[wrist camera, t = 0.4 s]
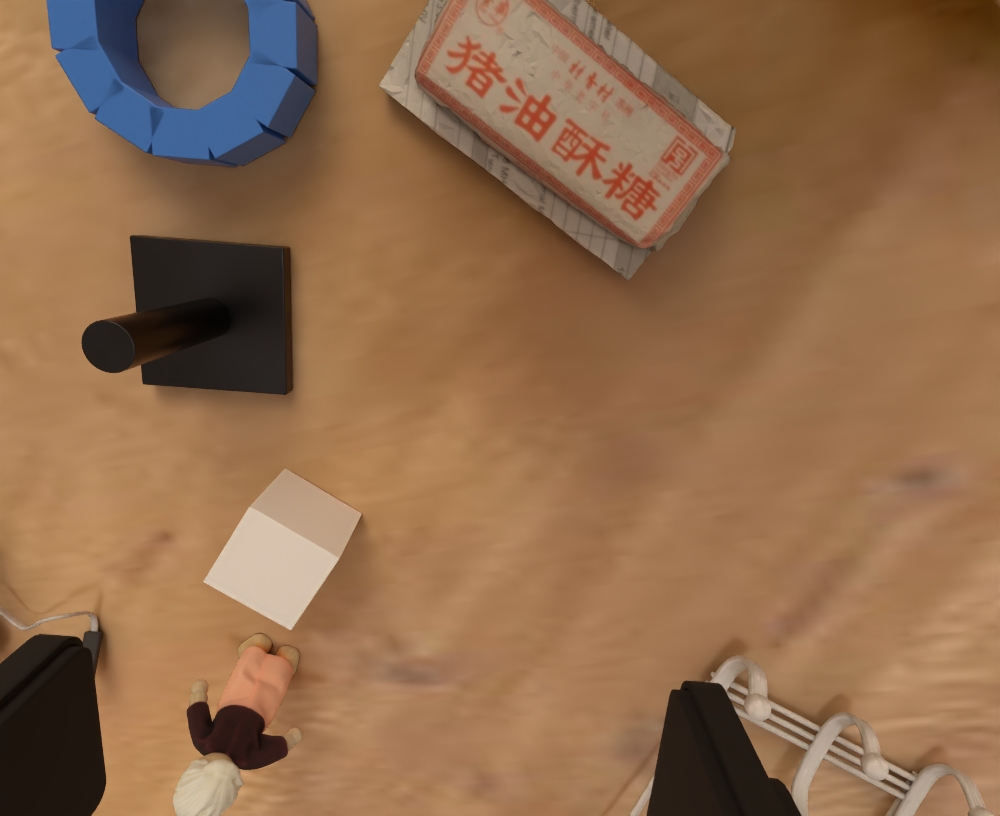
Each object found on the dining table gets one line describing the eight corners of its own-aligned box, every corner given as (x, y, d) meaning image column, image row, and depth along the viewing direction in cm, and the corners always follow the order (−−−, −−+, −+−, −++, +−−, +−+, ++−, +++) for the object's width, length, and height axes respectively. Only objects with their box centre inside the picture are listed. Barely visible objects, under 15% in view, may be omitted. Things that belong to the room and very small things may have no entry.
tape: (81, -95, 32) (30, -135, 29) (316, -74, 32) (294, -111, 29) (105, 156, 36) (62, 148, 32) (317, 173, 36) (298, 167, 32)
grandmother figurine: (220, 663, 45) (116, 822, 33) (231, 621, 44) (128, 769, 32) (320, 693, 46) (255, 859, 34) (334, 651, 45) (272, 807, 33)
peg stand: (140, 235, 37) (-9, 235, 26) (290, 246, 37) (203, 251, 26) (152, 380, 39) (20, 434, 28) (292, 390, 39) (214, 448, 29)
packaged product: (770, 124, 31) (643, 287, 33) (734, 139, 35) (625, 280, 37) (478, -130, 28) (360, 68, 30) (481, -77, 32) (379, 90, 35)
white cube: (362, 513, 42) (340, 558, 36) (319, 577, 43) (291, 631, 37) (284, 467, 41) (249, 506, 35) (243, 534, 42) (202, 582, 36)
